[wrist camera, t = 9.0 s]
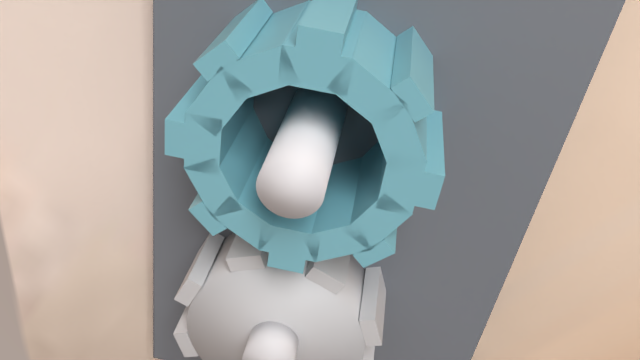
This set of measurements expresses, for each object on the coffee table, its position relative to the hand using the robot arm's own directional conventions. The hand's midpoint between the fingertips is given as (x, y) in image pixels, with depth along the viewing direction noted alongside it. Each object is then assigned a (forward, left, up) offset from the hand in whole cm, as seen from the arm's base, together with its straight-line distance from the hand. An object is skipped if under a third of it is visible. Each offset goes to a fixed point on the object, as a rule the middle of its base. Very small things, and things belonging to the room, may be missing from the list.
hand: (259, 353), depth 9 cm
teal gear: (0, 0, -10) cm, 10 cm away
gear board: (-4, -1, -11) cm, 12 cm away
